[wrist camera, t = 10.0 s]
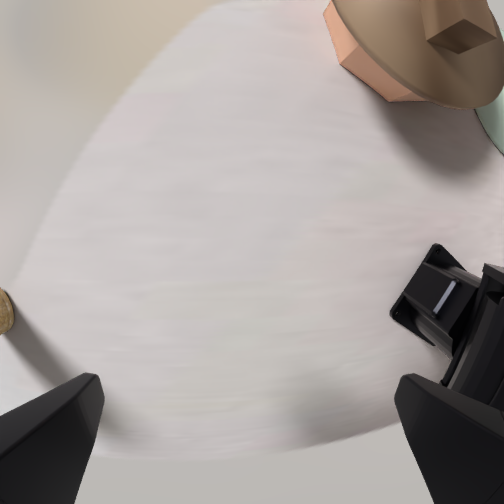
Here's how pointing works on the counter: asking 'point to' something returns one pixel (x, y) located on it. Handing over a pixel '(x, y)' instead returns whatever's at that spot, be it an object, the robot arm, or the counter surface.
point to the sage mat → (494, 118)
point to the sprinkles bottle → (5, 313)
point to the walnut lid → (432, 46)
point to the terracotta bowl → (363, 61)
